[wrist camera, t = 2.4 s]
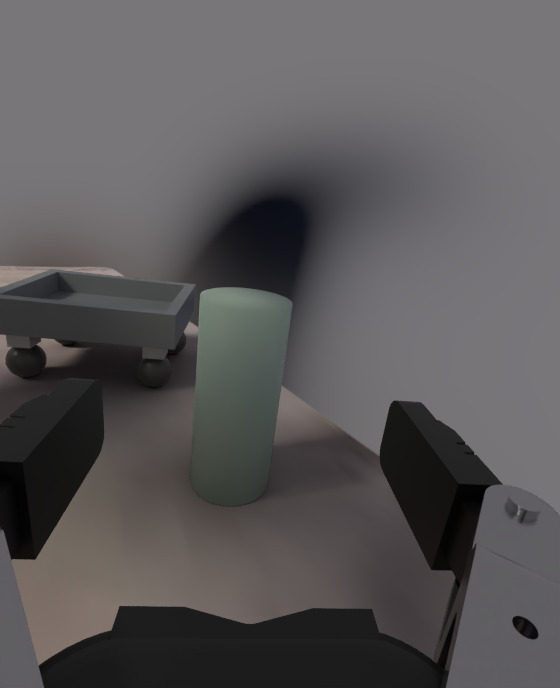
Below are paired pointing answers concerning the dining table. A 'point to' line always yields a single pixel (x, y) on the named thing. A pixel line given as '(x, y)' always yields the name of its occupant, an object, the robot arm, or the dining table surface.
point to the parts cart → (95, 318)
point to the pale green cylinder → (237, 392)
